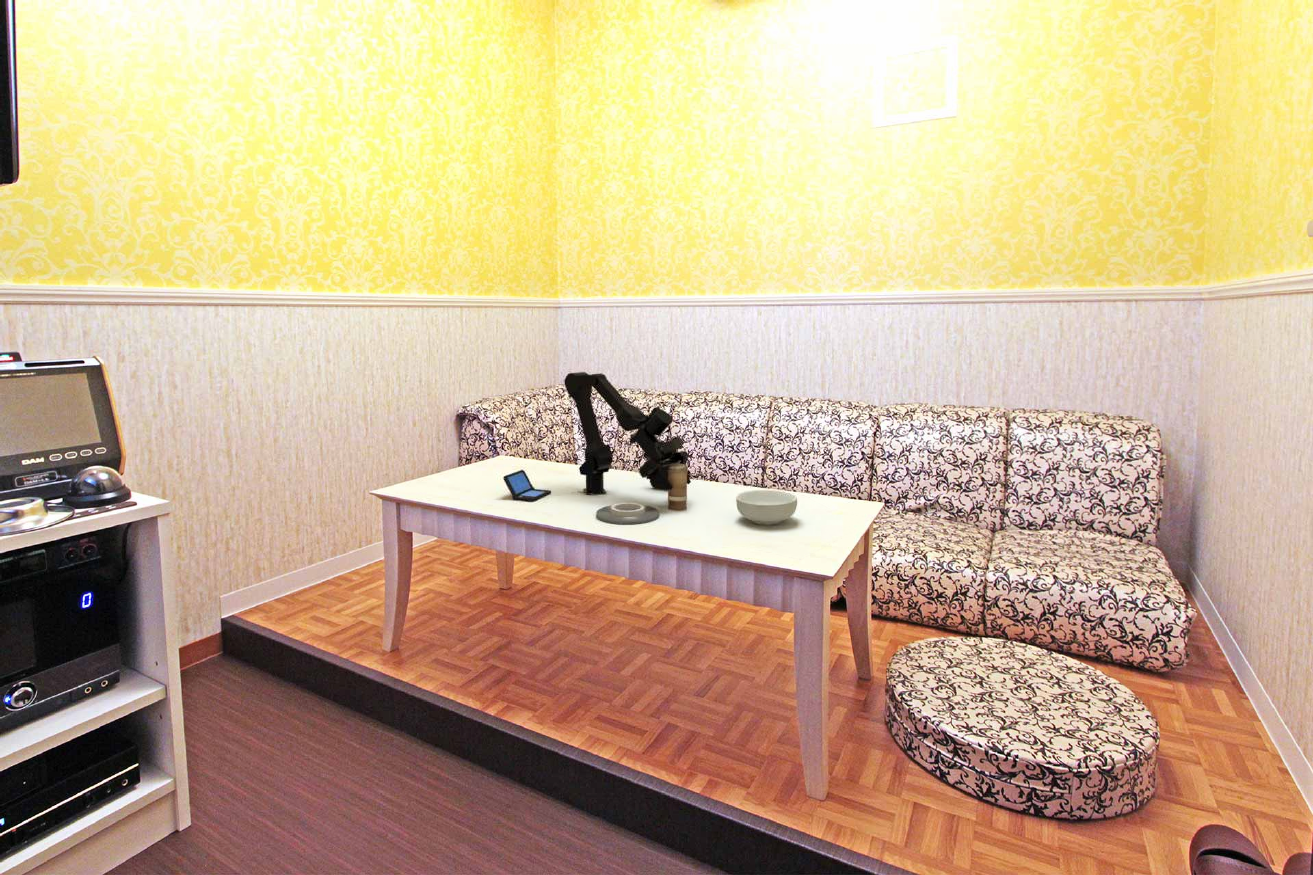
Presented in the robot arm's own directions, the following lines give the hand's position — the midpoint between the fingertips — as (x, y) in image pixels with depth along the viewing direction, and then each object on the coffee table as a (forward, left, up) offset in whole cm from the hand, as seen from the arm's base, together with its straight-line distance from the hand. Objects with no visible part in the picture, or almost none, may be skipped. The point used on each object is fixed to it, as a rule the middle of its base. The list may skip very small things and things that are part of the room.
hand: (680, 486), depth 213 cm
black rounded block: (-25, +1, -7) cm, 26 cm away
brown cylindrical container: (-1, -1, -7) cm, 7 cm away
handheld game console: (-27, -42, -7) cm, 51 cm away
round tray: (+3, -17, -7) cm, 18 cm away
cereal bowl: (+18, +19, -7) cm, 27 cm away
